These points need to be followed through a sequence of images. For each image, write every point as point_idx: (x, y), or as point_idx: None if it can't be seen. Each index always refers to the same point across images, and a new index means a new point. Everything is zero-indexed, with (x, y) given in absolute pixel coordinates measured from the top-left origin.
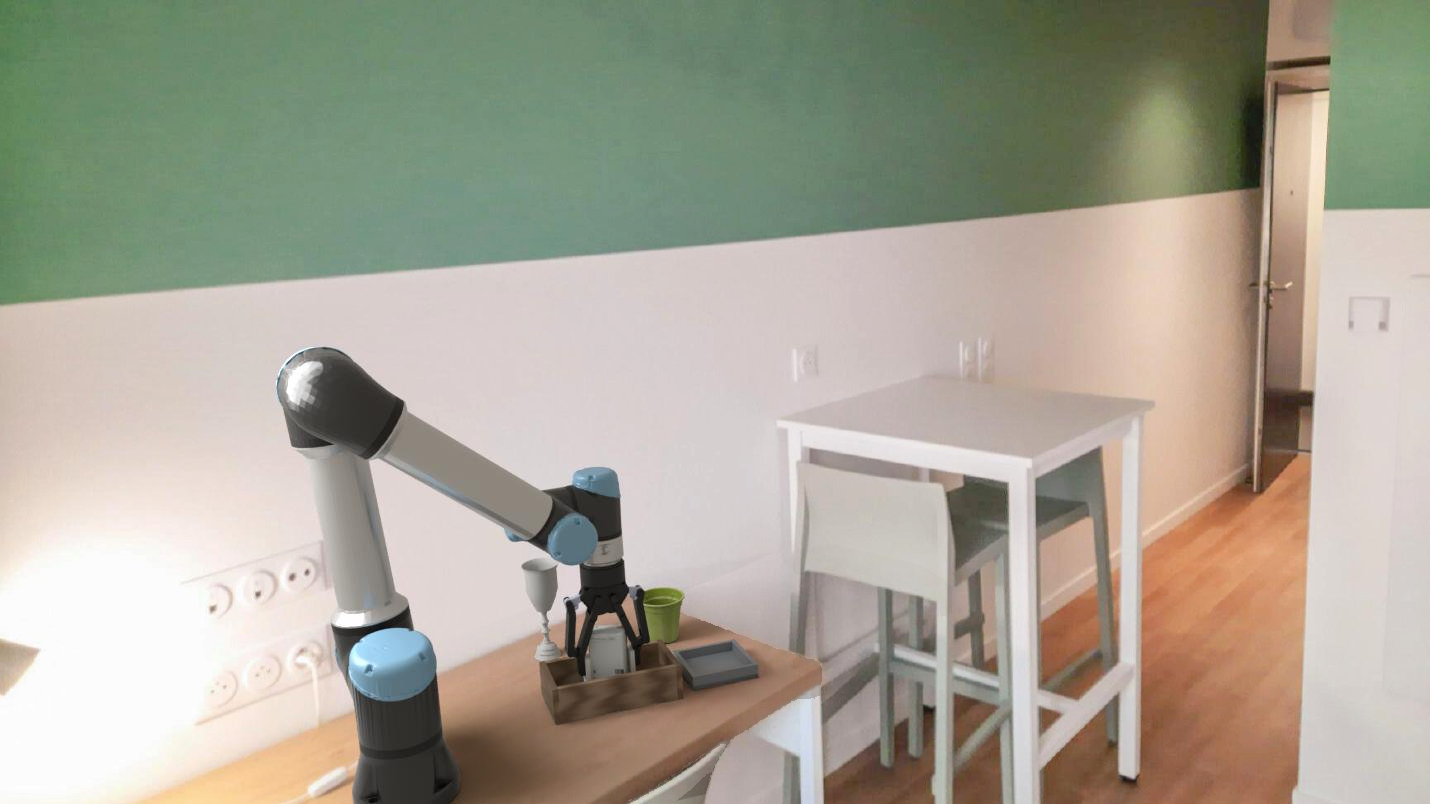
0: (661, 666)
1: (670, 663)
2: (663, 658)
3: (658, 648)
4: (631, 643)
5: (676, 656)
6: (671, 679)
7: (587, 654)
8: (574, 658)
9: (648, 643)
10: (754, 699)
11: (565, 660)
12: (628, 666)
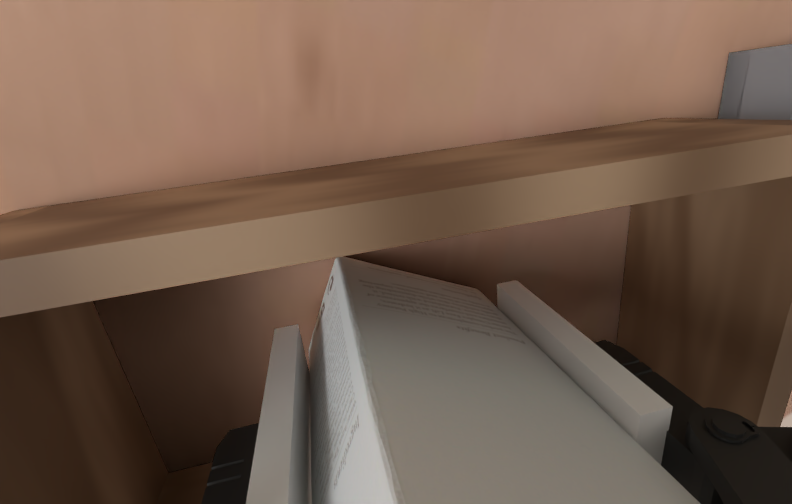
0: (678, 201)
1: (732, 401)
2: (731, 269)
3: (778, 179)
4: (691, 478)
5: (785, 119)
6: None
7: (297, 244)
8: (173, 284)
9: (775, 169)
10: (785, 410)
11: (82, 300)
12: (541, 347)
